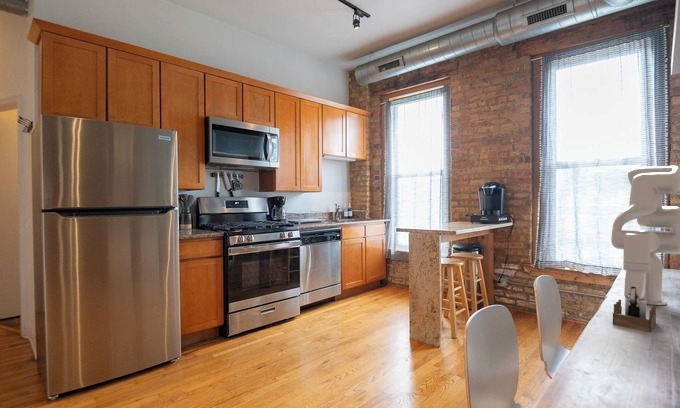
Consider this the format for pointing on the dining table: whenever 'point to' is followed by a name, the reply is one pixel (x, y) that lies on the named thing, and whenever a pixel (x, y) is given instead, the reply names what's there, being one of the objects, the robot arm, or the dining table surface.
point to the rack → (634, 319)
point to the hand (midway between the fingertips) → (635, 314)
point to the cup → (641, 304)
